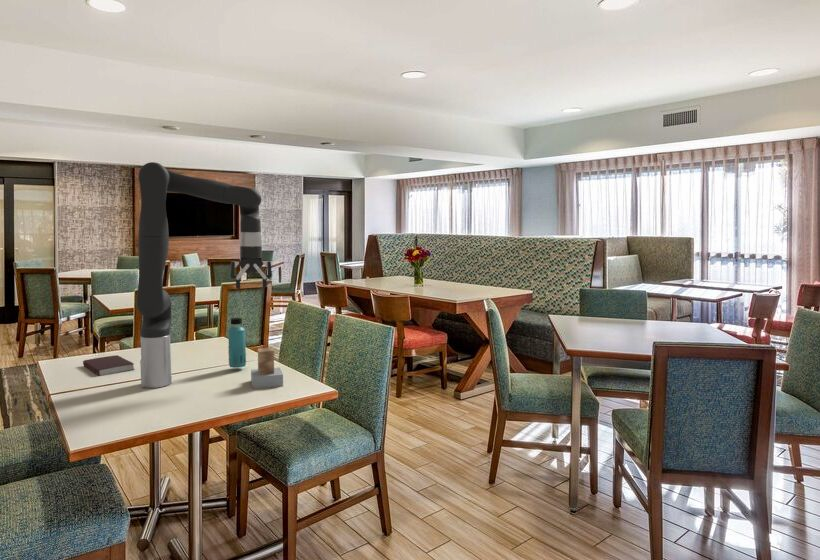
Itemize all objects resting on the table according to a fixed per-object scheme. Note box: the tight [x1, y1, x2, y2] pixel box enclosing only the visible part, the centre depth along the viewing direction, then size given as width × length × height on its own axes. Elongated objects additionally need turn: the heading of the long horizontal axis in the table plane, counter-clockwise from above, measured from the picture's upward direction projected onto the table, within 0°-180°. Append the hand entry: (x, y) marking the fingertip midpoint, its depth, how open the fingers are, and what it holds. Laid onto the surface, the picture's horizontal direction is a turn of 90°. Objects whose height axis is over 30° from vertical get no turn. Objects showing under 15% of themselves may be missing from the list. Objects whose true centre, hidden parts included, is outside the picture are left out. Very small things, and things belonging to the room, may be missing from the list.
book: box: [82, 355, 136, 377], centre depth 207 cm, size 12×19×3 cm, turn 45°
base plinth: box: [250, 367, 284, 389], centre depth 190 cm, size 10×10×4 cm
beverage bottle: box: [227, 317, 247, 369], centre depth 206 cm, size 6×7×20 cm
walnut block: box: [257, 347, 275, 375], centre depth 189 cm, size 5×5×8 cm
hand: (251, 289), depth 196 cm, fingers open, 8 cm apart
